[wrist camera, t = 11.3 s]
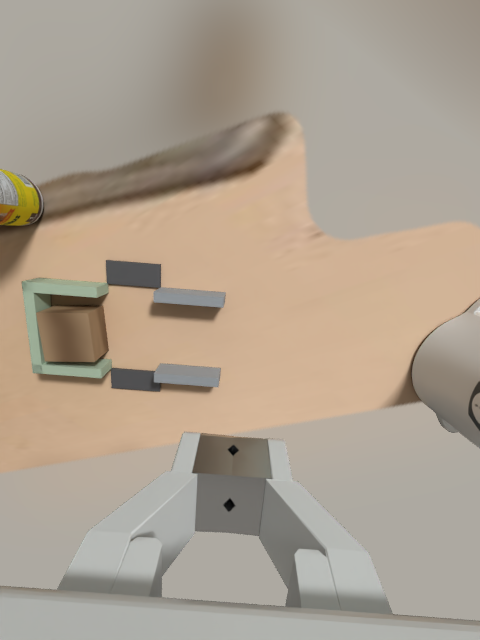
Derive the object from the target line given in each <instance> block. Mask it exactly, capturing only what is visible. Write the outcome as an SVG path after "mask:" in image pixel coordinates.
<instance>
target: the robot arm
mask: <svg viewBox="0 0 480 640" xmlns="http://www.w3.org/2000/svg"><path fill="white" fill-rule="evenodd" d="M412 382H413V386H414V389H415V391H416V393H417V395H418V397H419V398H420V399H421V401H422V402H423V403H424V404H426V405H427V406H428V407H429V408H431V409H432V410H433V411H434V412H435V413H436V415H437V418H438V420H439V422H440V424H441V425H442V426H443V427H444V428H445V429H446V430H448V431H449V432H452V433H455V432H459V433H460V434H462V435H463V436H464V437H466V438H467V439H468V440H470V441H471V442H472V443H474V444H475V445H476V446H477V447H479V448H480V299H479V300H478V301H476V302H475V303H474V304H473V305H472V306H471V307H470V308H469V309H468V310H467V311H466V312H465V313H463V314H462V315H460V316H458V317H456V318H454V319H452V320H449V321H448V322H446V323H444V324H443V325H441V326H440V327H438V328H437V329H436V330H434V331H433V332H432V333H431V334H430V335H429V336H428V337H427V338H426V340H425V341H424V342H423V344H422V345H421V347H420V348H419V350H418V352H417V354H416V356H415V359H414V362H413V367H412ZM195 531H202V532H226V533H236V534H245V535H255V536H259V539H260V540H261V542H262V544H263V546H264V547H265V549H266V551H267V553H268V555H269V556H270V558H271V560H272V562H273V563H274V565H275V567H276V568H277V571H278V572H279V574H280V576H281V578H282V579H283V581H284V583H285V585H286V586H287V588H288V594H287V600H286V606H285V607H284V606H271V605H257V604H243V603H230V602H216V601H203V600H189V599H176V598H162V594H161V593H162V576H163V574H164V573H165V572H166V570H167V569H168V568H169V566H170V565H171V564H172V562H173V561H174V560H175V559H176V557H177V556H178V555H179V553H180V552H181V551H182V549H183V548H184V547H185V545H186V544H187V543H188V542H189V540H190V539H191V538H192V536H193V535H194V533H195ZM0 640H480V621H476V620H462V619H449V618H448V619H447V618H435V617H422V616H408V615H394V614H392V611H391V608H390V606H389V603H388V601H387V598H386V595H385V593H384V590H383V588H382V585H381V583H380V580H379V578H378V575H377V572H376V570H375V567H374V565H373V562H372V560H371V557H370V554H369V553H368V551H367V550H366V549H365V548H364V547H363V546H362V545H361V544H360V543H359V542H358V541H357V540H356V539H355V538H354V537H353V536H352V535H351V534H350V533H349V532H348V531H347V530H346V529H345V528H344V527H343V526H342V525H341V524H340V523H339V522H338V521H337V520H336V519H335V518H334V517H333V516H332V515H331V514H330V513H329V512H328V511H327V510H326V509H325V508H324V507H323V506H322V505H321V504H320V503H319V502H318V501H317V500H316V499H315V498H314V497H313V496H312V495H311V494H310V493H309V492H308V491H307V490H306V489H305V488H304V487H303V486H302V485H301V484H300V483H299V482H298V481H293V478H292V474H291V468H290V463H289V459H288V453H287V448H286V443H285V440H284V439H273V438H267V439H262V438H248V437H234V436H227V435H217V434H207V433H196V432H184V433H183V434H182V437H181V440H180V443H179V447H178V450H177V453H176V456H175V459H174V463H173V466H172V469H171V472H168V471H165V472H164V473H163V474H161V475H160V476H159V477H157V478H156V479H155V480H153V481H152V482H151V483H150V484H148V485H147V486H146V487H144V488H143V489H142V490H141V491H140V492H138V493H137V494H135V495H134V496H133V497H131V498H130V499H129V500H128V501H126V502H125V503H124V504H122V505H121V506H120V507H119V508H117V509H116V510H115V511H113V512H112V513H111V514H110V515H108V516H107V517H106V518H104V519H103V520H102V521H100V522H99V523H98V524H96V525H95V526H94V527H93V528H91V529H90V530H89V531H88V533H87V534H86V536H85V538H84V540H83V542H82V543H81V545H80V547H79V549H78V551H77V553H76V555H75V557H74V559H73V560H72V562H71V564H70V566H69V568H68V570H67V572H66V574H65V575H64V577H63V579H62V581H61V583H60V585H59V587H58V588H57V590H52V589H39V588H25V587H11V586H0Z"/></svg>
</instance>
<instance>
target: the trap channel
mask: <svg viewBox="0 0 480 640" xmlns="http://www.w3.org/2000/svg"><path fill="white" fill-rule="evenodd" d="M106 272H107V283H99V282H86V281H73V280H61V279H48V278H36V279H31V280H26V281H22V289H23V297H24V305H25V313H26V321H27V329H28V337H29V345H30V353H31V361H32V369H33V373H40V374H53V375H66V376H79V377H92V378H102V377H103V376H104V375H105V374H106V373H107V372H108V371H109V370H110V369H111V383H112V388H120V389H134V390H147V391H160V383H169V384H182V385H195V386H208V387H218V386H219V380H220V371H221V368H213V367H200V366H187V365H174V364H161V363H160V365H159V366H158V368H157V370H156V371H145V370H132V369H119V368H112V360H110V359H98V360H97V361H95V362H53V361H45V359H44V354H43V348H42V343H41V338H40V332H39V327H38V322H37V316H36V313H37V312H39V311H42V310H45V309H47V308H50V307H52V306H51V296H50V294H56V295H69V296H81V297H94V298H98V297H100V296H102V295H105V294H107V293H108V284H118V285H131V286H144V287H156V288H159V289H157V290H156V291H154V302H158V303H171V304H183V305H196V306H209V307H222V308H223V307H224V303H225V293H226V292H213V291H201V290H188V289H175V288H162V287H161V264H149V263H136V262H124V261H111V260H106Z"/></svg>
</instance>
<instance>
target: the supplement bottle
mask: <svg viewBox="0 0 480 640" xmlns="http://www.w3.org/2000/svg"><path fill="white" fill-rule="evenodd" d="M42 211H43V198H42V195H41V192H40V190H39V189H38V187H37V186H36V185H35V184H34V183H33V182H32V181H31V180H30V179H28V178H27V177H25V176H23V175H20V174H17V173H13V172H9V171H6V170H2V169H0V225H15V226H24V225H29V224H32V223H34V222H35V221H37V220H38V218H39V217H40V216H41V214H42Z"/></svg>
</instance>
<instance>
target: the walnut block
mask: <svg viewBox="0 0 480 640" xmlns="http://www.w3.org/2000/svg"><path fill="white" fill-rule="evenodd" d="M36 316H37V322H38V327H39V332H40V338H41V343H42V348H43V354H44V359H45V361H53V362H95V361H97V360H98V359H99V358H100V357H101V356H102V355H104V354H105V353H106V352H107V351H108V350H109V349H108V341H107V333H106V324H105V316H104V308H103V306H92V305H55V306H52V307H50V308H47V309H45V310H42V311H39V312H37V313H36Z"/></svg>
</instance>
